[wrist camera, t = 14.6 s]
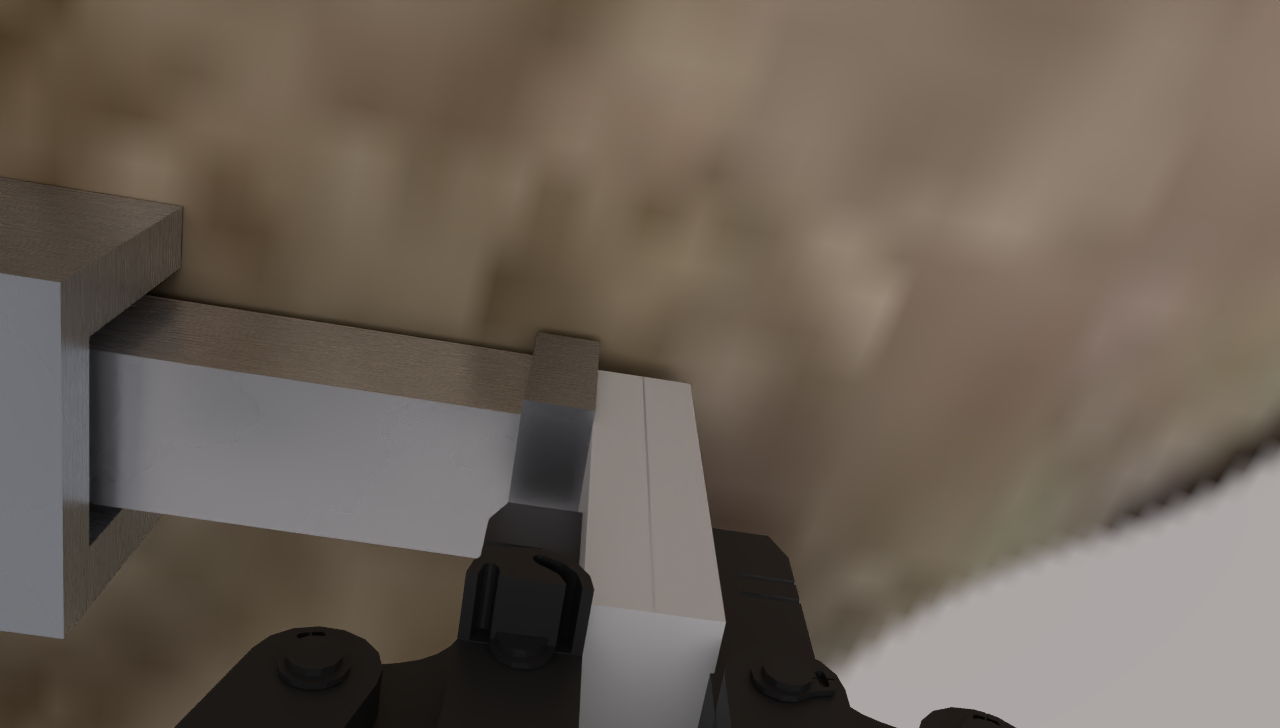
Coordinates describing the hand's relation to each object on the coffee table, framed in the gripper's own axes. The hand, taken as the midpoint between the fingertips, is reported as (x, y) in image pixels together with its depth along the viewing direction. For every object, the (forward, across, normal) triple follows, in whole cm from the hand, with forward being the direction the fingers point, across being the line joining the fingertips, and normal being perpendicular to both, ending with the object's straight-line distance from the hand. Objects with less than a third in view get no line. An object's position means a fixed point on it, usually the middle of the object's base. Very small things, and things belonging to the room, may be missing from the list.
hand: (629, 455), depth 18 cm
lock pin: (+1, -6, 0) cm, 6 cm away
